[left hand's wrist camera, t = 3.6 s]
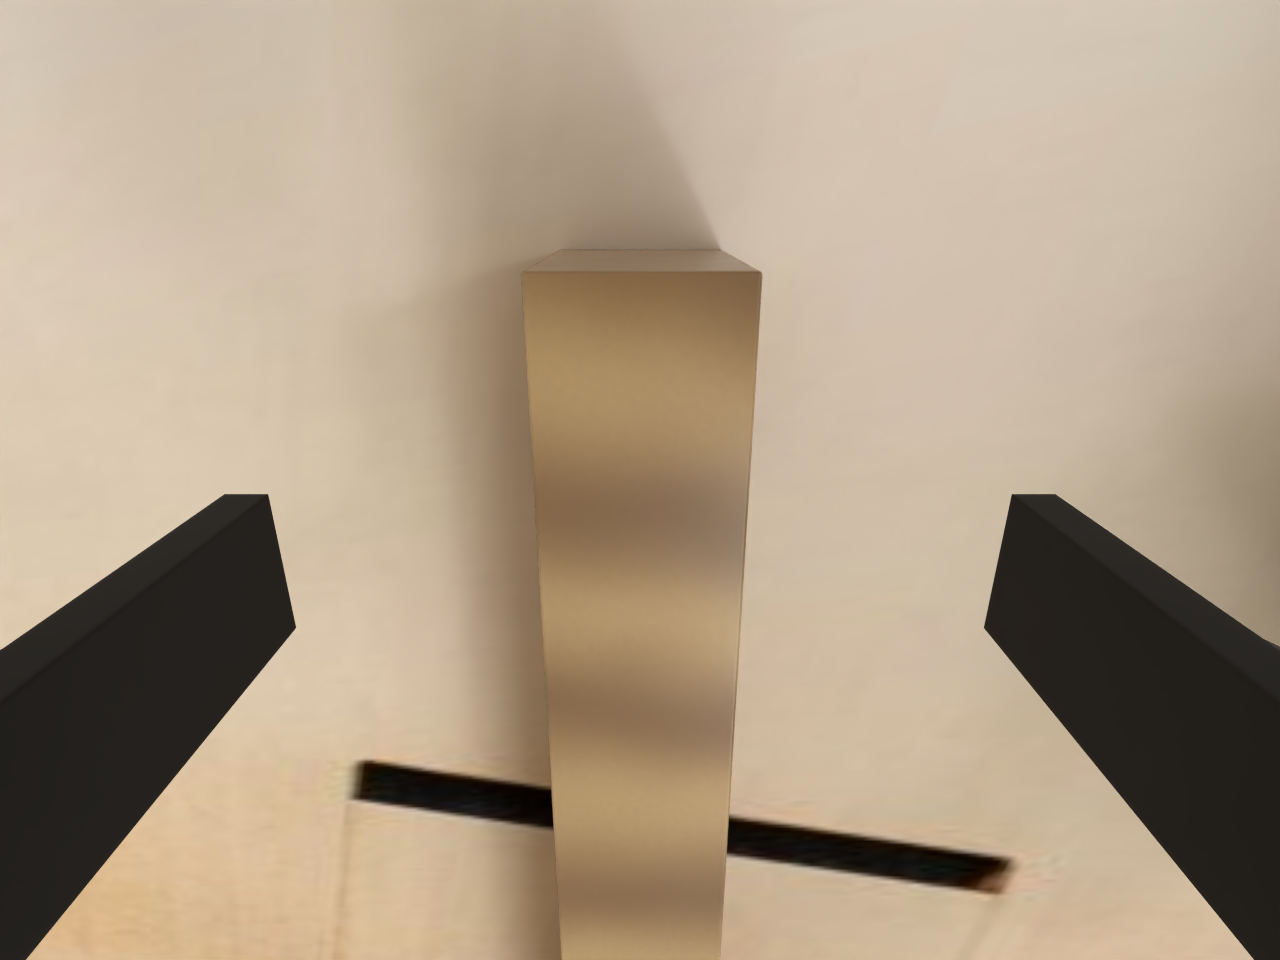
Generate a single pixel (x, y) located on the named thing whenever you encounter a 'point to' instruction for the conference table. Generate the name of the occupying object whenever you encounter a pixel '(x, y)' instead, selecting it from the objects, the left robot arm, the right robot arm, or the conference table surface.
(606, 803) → the beam
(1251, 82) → the conference table surface
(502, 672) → the conference table surface
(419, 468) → the conference table surface
